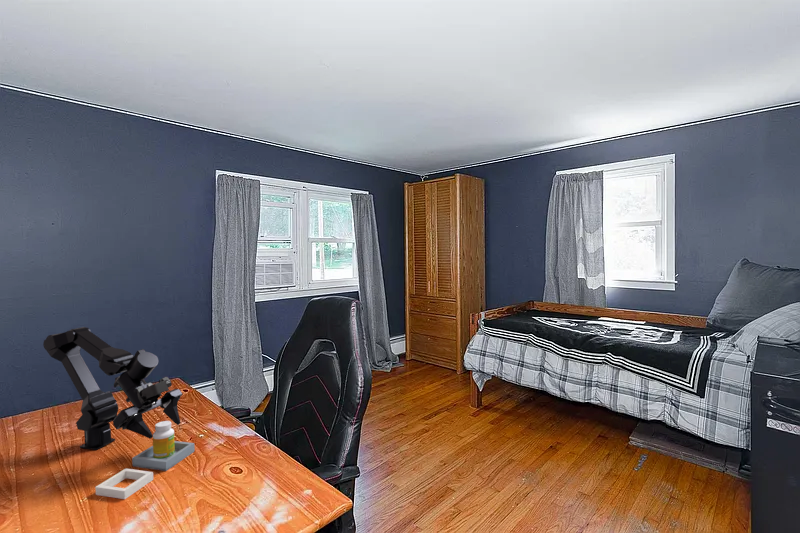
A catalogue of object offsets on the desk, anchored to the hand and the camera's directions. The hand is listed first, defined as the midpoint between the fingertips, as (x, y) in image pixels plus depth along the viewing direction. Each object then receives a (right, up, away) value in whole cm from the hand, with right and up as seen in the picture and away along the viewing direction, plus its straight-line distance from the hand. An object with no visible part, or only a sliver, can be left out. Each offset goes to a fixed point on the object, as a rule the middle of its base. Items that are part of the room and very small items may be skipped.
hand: (166, 430), depth 117 cm
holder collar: (-3, -9, -13) cm, 16 cm away
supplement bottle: (-1, -8, +1) cm, 8 cm away
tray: (-1, -8, +1) cm, 8 cm away
